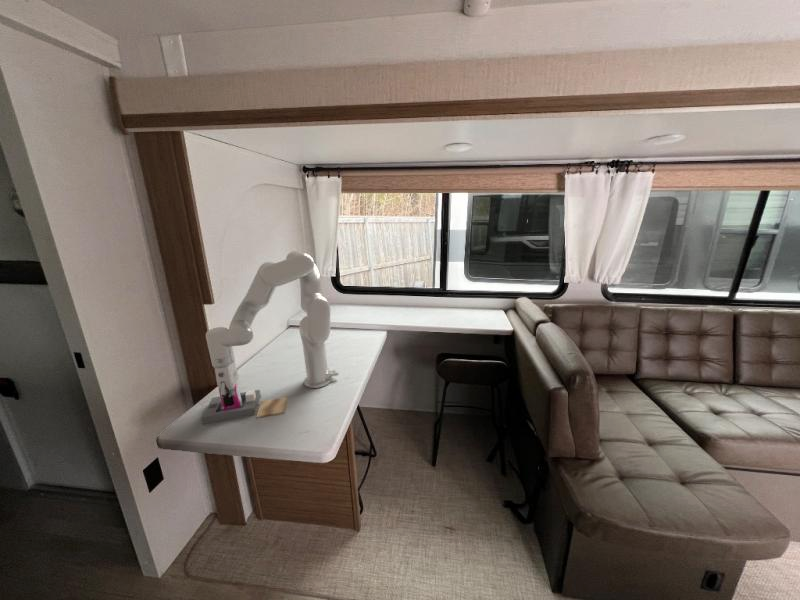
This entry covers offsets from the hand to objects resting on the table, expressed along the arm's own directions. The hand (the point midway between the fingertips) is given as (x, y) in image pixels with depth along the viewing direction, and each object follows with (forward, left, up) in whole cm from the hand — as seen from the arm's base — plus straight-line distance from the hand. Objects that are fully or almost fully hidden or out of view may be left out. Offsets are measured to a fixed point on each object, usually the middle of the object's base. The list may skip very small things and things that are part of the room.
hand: (231, 400), depth 117 cm
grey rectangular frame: (0, 0, -4) cm, 4 cm away
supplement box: (0, 0, -4) cm, 4 cm away
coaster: (-15, +4, -4) cm, 16 cm away
